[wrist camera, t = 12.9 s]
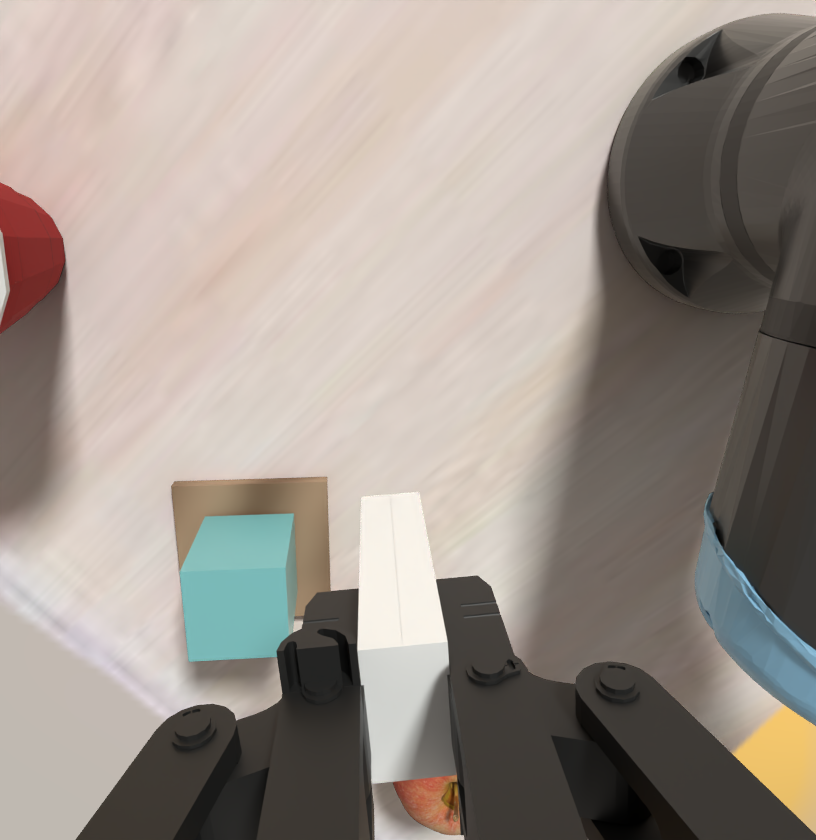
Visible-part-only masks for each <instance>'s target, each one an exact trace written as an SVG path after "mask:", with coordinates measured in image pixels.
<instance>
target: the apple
mask: <svg viewBox="0 0 816 840" xmlns="http://www.w3.org/2000/svg"><path fill="white" fill-rule="evenodd" d="M393 784H394V787H395V790H396V792H397V794H398V796H399V798H400V800H401V802H402V804H403V806H404V808H405V809H406V811H407V812H408V814H409V815H410V816H411V817H412V818H413V819H414V820H416V821H417V822H419V823H420V824H422V825H424V826H426V827H428V828H430V829H432V830H434V831H436V832H439V833H442V834H446V835H461V831H460V816H459V801H458V785H457V773H456V775H452V776H443V777H433V778H424V779H414V780H405V781H395V782H393Z"/></svg>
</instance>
